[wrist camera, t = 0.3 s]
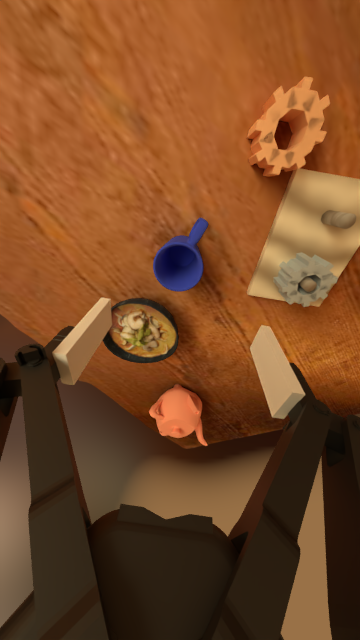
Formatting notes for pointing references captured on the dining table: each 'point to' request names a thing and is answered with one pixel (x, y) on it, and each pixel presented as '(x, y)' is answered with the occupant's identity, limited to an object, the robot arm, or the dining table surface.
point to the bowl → (141, 331)
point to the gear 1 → (304, 123)
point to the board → (310, 229)
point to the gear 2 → (297, 271)
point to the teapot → (178, 413)
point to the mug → (181, 260)
